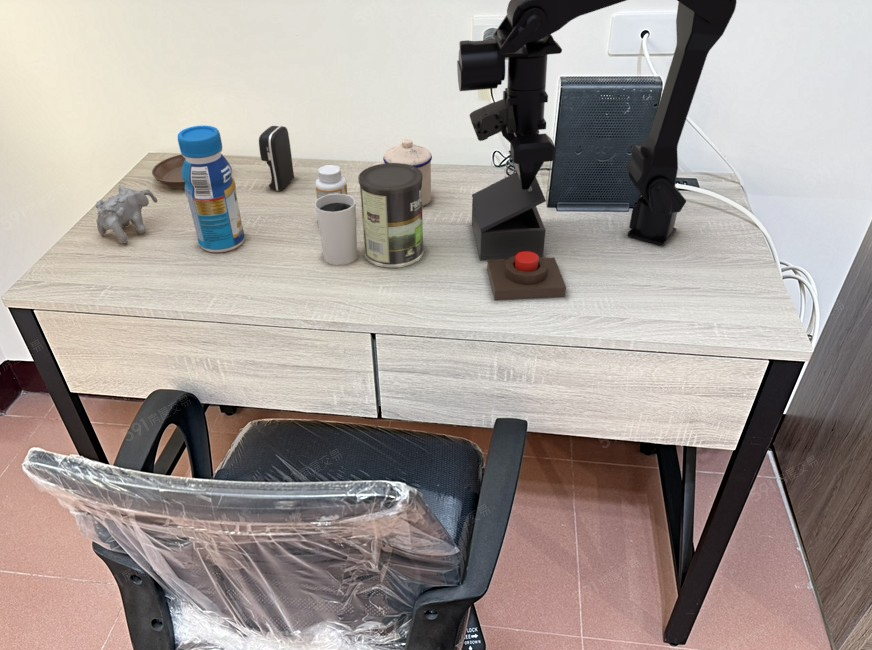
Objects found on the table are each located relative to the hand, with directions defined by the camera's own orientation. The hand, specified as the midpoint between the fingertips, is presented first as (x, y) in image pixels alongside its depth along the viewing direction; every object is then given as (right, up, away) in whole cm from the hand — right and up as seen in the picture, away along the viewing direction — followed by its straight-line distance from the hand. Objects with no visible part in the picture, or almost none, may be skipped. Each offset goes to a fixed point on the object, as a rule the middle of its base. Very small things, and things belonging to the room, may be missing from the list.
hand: (522, 181), depth 117 cm
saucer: (-64, +9, +31) cm, 72 cm away
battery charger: (-45, +7, +28) cm, 53 cm away
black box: (-2, -8, +7) cm, 11 cm away
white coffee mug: (-31, -12, +5) cm, 33 cm away
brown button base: (0, -17, -4) cm, 18 cm away
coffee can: (-21, -11, +5) cm, 25 cm away
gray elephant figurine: (-70, -5, +15) cm, 72 cm away
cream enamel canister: (-20, +2, +21) cm, 29 cm away
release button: (0, -15, -6) cm, 16 cm away
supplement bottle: (-32, -4, +15) cm, 36 cm away
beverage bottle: (-52, -8, +10) cm, 54 cm away
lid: (-2, -2, +2) cm, 4 cm away
